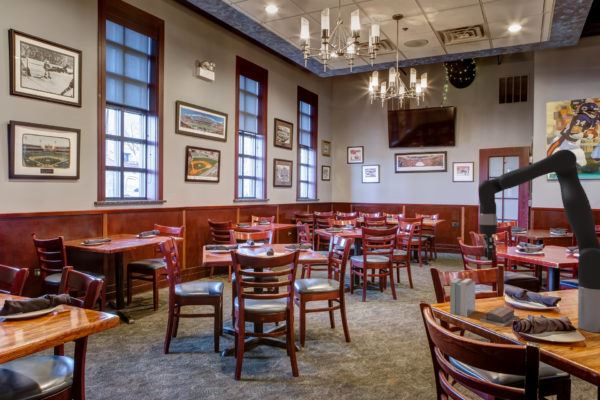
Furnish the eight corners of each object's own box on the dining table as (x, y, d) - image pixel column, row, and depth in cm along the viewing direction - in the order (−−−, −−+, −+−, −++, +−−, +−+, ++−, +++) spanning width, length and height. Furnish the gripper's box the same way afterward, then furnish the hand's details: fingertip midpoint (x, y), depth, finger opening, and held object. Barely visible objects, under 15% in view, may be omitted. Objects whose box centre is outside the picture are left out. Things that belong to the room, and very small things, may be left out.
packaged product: (496, 304, 191) (519, 308, 184) (496, 314, 191) (519, 319, 184) (479, 311, 179) (503, 316, 172) (479, 322, 179) (503, 328, 172)
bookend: (475, 311, 195) (475, 281, 195) (467, 318, 184) (467, 286, 184) (458, 308, 200) (458, 279, 200) (449, 315, 189) (450, 284, 188)
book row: (471, 310, 194) (471, 279, 194) (465, 315, 186) (465, 282, 186) (456, 308, 198) (456, 277, 198) (450, 313, 190) (450, 280, 190)
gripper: (499, 224, 182) (500, 261, 182) (494, 222, 196) (495, 257, 196) (481, 224, 184) (482, 260, 184) (477, 222, 198) (477, 256, 198)
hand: (488, 258), depth 190 cm, fingers open, 8 cm apart
